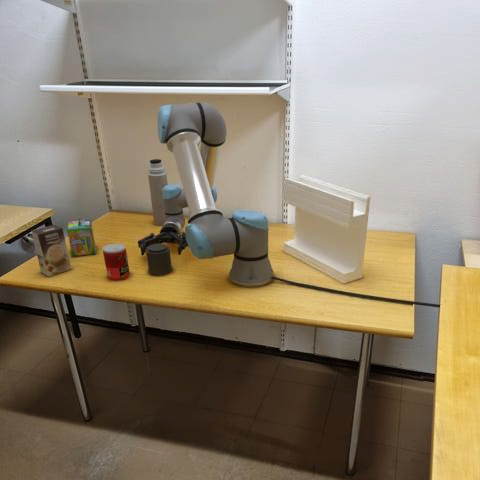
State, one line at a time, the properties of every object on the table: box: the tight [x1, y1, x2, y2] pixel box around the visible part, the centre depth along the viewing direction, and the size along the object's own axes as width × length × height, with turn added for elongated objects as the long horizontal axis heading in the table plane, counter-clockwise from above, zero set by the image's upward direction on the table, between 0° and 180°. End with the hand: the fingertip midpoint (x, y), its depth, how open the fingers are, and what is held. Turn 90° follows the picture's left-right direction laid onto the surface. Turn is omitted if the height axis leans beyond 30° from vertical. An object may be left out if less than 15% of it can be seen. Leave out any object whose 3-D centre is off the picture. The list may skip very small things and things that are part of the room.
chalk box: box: [66, 214, 97, 258], centre depth 188 cm, size 9×9×15 cm
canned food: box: [102, 242, 131, 281], centre depth 168 cm, size 8×8×11 cm
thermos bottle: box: [147, 158, 169, 227], centre depth 213 cm, size 8×8×28 cm
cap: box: [145, 243, 173, 277], centre depth 171 cm, size 9×9×9 cm
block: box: [282, 174, 371, 284], centre depth 168 cm, size 35×8×28 cm, turn 31°
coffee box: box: [30, 224, 72, 278], centre depth 172 cm, size 9×6×16 cm
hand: (160, 251), depth 174 cm, fingers open, 13 cm apart
